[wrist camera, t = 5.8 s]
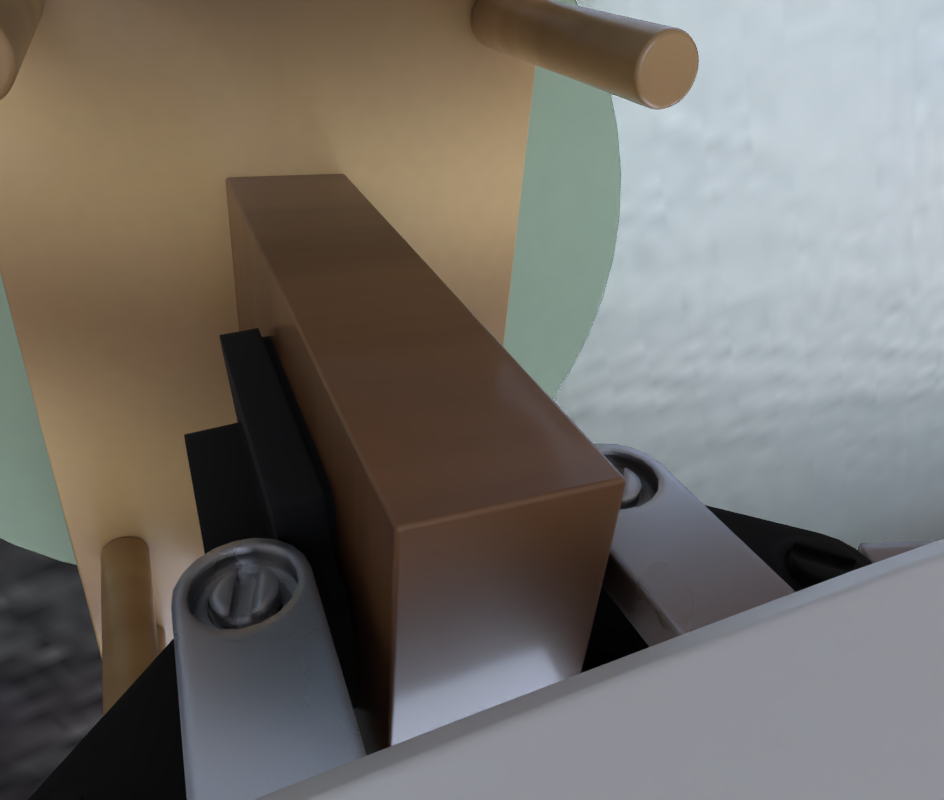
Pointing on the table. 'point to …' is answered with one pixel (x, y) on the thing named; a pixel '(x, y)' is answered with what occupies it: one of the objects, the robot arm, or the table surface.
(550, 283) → the turntable
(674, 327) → the table surface
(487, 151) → the plate rack
